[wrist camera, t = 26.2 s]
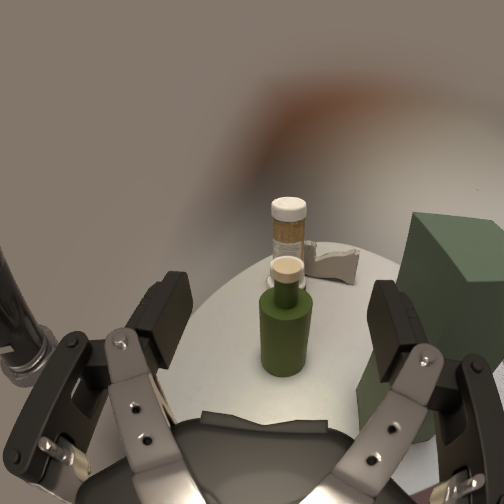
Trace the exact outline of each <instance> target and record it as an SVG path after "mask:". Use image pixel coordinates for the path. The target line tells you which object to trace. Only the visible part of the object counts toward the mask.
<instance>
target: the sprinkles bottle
mask: <svg viewBox="0 0 504 504" xmlns="http://www.w3.org/2000/svg"><path fill="white" fill-rule="evenodd" d="M271 211H272V218H273V260H274V259H275V258H277V257H281V256H293V257H297V258H299V259H301V260H302V261H303V262H304V225H305V222H304V221H305V217H306V202H305V201H303V200H302V199H299V198H294V197H282V198H278V199H275V200H274V201H273V202H272V206H271Z"/></svg>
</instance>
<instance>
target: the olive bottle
mask: <svg viewBox="0 0 504 504" xmlns="http://www.w3.org/2000/svg"><path fill="white" fill-rule="evenodd" d="M301 271H302V265H301V263H300V262H299V261H298V260H296V259H293V258H281V259H278V260H276V261H275V262H274V263H273V265H272V275H273V278H274V287H272V288H270V289H268V290H266V291H265V292H264V293H263V294H262V295H261V297H260V300H259V313H260V340H261V362H262V365H263V367H264V369H265V370H266V371H267V372H268V373H270V374H272V375H275V376H278V377H288V376H292V375H294V374H296V373H298V372H299V371H300V370H301V369H302V367H303V366H304V363H305V357H306V350H307V343H308V336H309V329H310V321H311V313H312V305H313V302H312V298H311V296H310V295H309V294H308V293H307V292H306V291H305V290H303V289H301V288H299V279H300V277H301Z"/></svg>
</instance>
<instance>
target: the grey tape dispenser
mask: <svg viewBox="0 0 504 504" xmlns="http://www.w3.org/2000/svg"><path fill="white" fill-rule="evenodd" d="M311 244H312V241H307V240H306V241H305V242H304V262H303V263H304V275H306V274H307V276H310V277H315V278H316V276H317V278H318V277H319V278H320V277H321V278H323V277H324V278H329V277H330V278H333V277H334V278H336V277H337V278H338V279H342V280H343V281H344V282H346V283H347V284H351V285H353V284H354V279H355V275H356V270H357V265H358V260H359V254H360V250H355V249H353V250H349V251H346V252H332V253H327V254H325V255H322V256H320V257H317V256H316V252H315V250H316V247H317V244H316V242H313V244H312V245H311Z"/></svg>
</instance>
